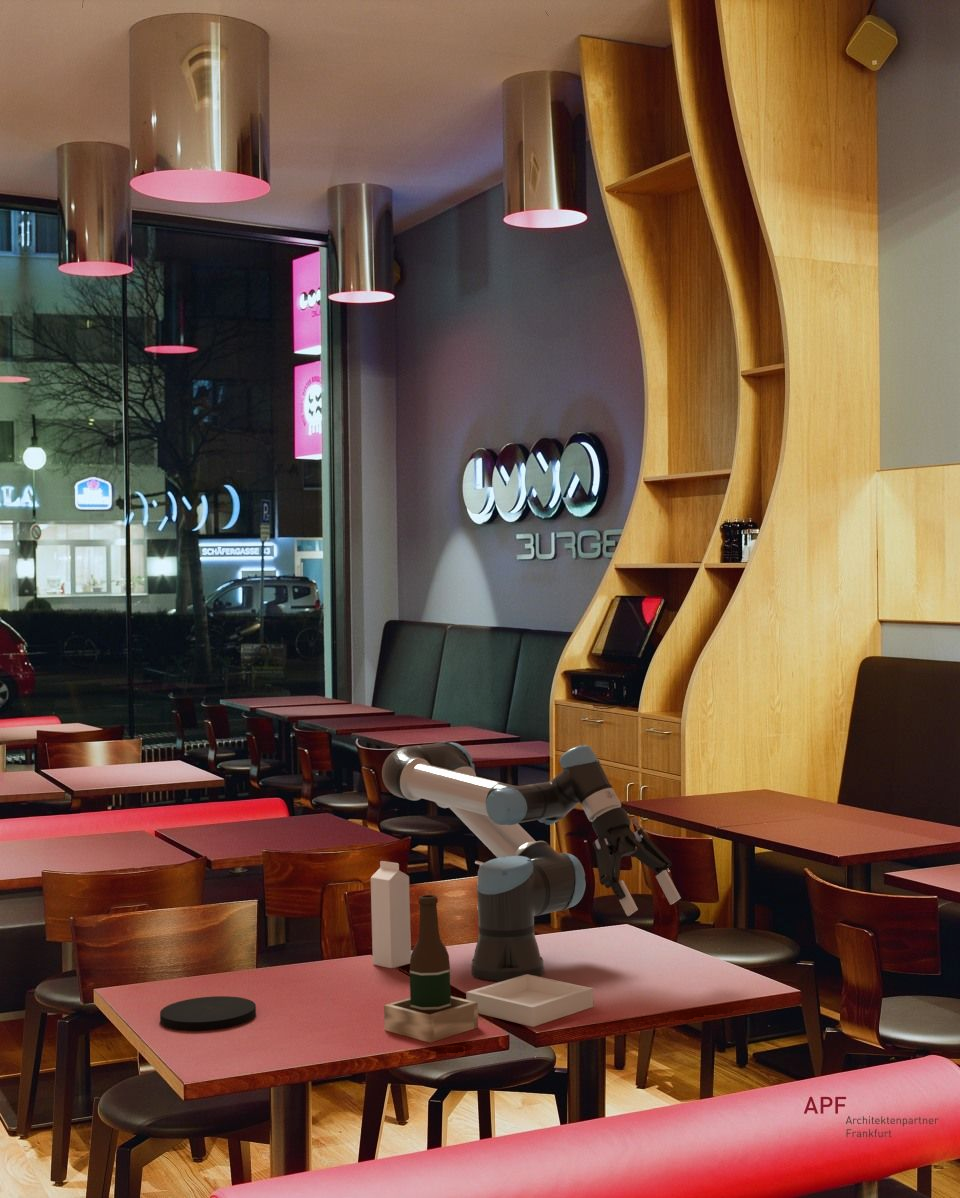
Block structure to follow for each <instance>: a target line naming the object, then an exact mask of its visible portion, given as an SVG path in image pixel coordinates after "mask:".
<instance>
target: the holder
mask: <svg viewBox="0 0 960 1198" xmlns="http://www.w3.org/2000/svg"><path fill="white" fill-rule="evenodd" d="M383 1009H384V1010H383V1011H384V1012H383V1014H384V1015H383V1016H384V1017H383V1018H384V1019H383V1020H384V1021H383V1022H384V1031H386V1032H390V1033H395V1034H398V1035H401V1036H404V1037H405V1036H406V1037H409V1038H412V1039H416V1040H419V1041H423V1042H426V1043H434V1042H437V1041H440V1040H443V1039H445V1038H449V1037H452V1036H455V1035H460V1034H462V1033H464V1032H469V1031H470V1030H474V1029H477V1028H479V1013H478V1002H474V1001H470V1000H466V998H465V999H464V998H461V997H457V996H453V995H451V1008H450V1009H447V1010H444V1011H440V1012H437V1013H434V1014H430V1015H429V1014H425V1013H421V1012H417V1011H413V1010H411V1001H410V997H408V998H405V999H402V1000H397V1001H395V1002H391V1003H387V1004H384V1005H383Z"/></svg>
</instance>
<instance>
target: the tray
mask: <svg viewBox="0 0 960 1198" xmlns="http://www.w3.org/2000/svg"><path fill="white" fill-rule="evenodd" d="M465 994H466V995H465V997H466V998H465V1000H470V1001H474V1002H478V1015H484V1016H488V1017H491V1018H497V1019H501V1020H504V1021H507V1022H512V1023H516V1024H520V1025H523V1026H528V1027H532V1028H534V1027H538V1026H540V1025H543V1024H547V1023H548V1022H552V1021H555V1020H559V1019H561V1018H564V1017H568V1016H570V1015H573V1014H575V1013H579V1012H582V1011H585V1010H588V1009H592V1008H593V1007H594V988H593V987H588V986H586V985H585V986H584V985H579V984H574V983H570V982H565V981H561V980H556V979H552V978H545V977H543V976H542V977H541V976H533V975H529V974H526V975H522V976H519V977H516V978H512V979H509V980H505V981H497V982H495V983H492V984H488V985H486V986H482V987H479V988H475V989H474V988H473V989H471V990H469V991H465Z"/></svg>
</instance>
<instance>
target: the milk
mask: <svg viewBox="0 0 960 1198" xmlns="http://www.w3.org/2000/svg"><path fill="white" fill-rule="evenodd" d="M379 865H380V866H379V868H378V869H377V870H376V872H374V873H373V874H372V875H371V877H370V896H371V897H370V898H371V900H370V903H371V904H370V905H371V938H372V941H371V942H372V943H371V944H372V945H371V946H372V947H371V948H372V965H373V966H379V967H384V968H387V969H395V968H399V967H402V966H406V965H410V959H411V954H412V945H411V944H412V941H411V937H412V936H411V935H412V934H411V909H410V908H411V904H410V876H409V875H408V874H406V873H405V872H403V871H401V870H400V864H399V863H398V862H393V861H384V860H380V862H379Z"/></svg>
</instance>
